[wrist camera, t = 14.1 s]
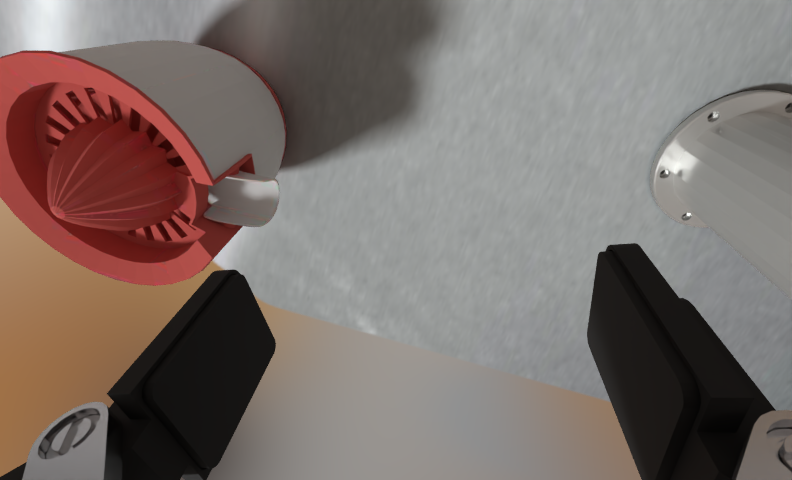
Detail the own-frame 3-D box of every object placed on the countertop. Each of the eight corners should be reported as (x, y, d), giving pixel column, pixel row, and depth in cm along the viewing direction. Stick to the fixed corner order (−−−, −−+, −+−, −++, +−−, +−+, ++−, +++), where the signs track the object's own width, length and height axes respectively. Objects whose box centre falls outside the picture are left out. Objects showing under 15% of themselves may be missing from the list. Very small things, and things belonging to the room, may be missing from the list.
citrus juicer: (311, 211, 42) (220, 350, 26) (159, 163, 41) (-38, 274, 25) (338, 67, 34) (228, 136, 17) (147, 2, 33) (-167, 7, 16)
